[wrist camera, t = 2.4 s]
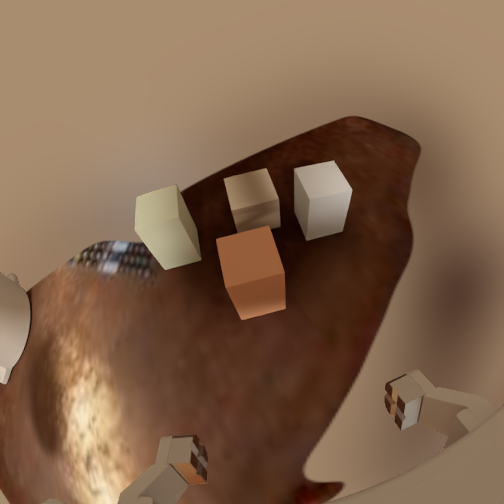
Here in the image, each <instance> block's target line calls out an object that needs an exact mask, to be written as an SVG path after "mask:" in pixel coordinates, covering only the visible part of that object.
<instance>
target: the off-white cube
mask: <svg viewBox="0 0 504 504" xmlns="http://www.w3.org/2000/svg"><path fill="white" fill-rule="evenodd" d="M224 182H225V186H226V190H227V194H228V198H229V202H230V206H231V211H232V214H233V218H234V221H235V225H236V229H237V232H238V233H241V232H245V231H249V230H253V229H257V228H261V227H265V226H270V229H274V228H278V227H281V225H280V208H279V198H278V195H277V193H276V190H275V188H274V186H273V183H272V181H271V178H270V176H269V173H268V171H267V169H266V168H265V169H261V170H256V171H252V172H248V173H244V174H240V175H236V176H232V177H228V178H224Z"/></svg>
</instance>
